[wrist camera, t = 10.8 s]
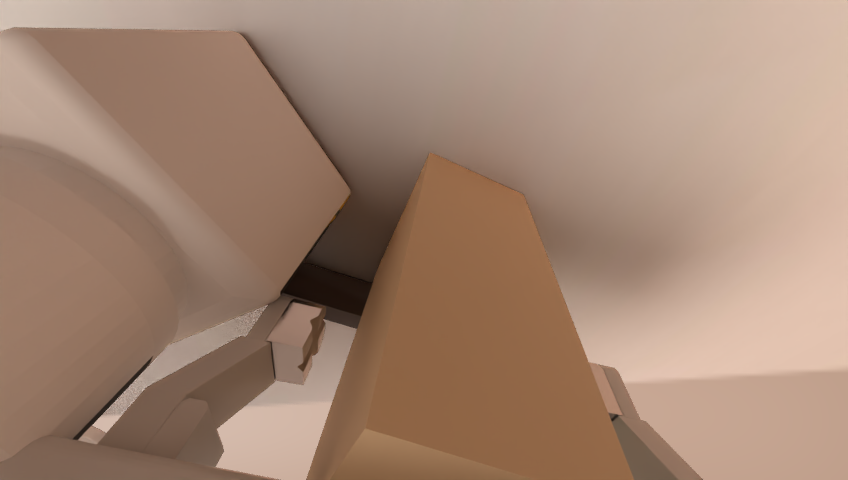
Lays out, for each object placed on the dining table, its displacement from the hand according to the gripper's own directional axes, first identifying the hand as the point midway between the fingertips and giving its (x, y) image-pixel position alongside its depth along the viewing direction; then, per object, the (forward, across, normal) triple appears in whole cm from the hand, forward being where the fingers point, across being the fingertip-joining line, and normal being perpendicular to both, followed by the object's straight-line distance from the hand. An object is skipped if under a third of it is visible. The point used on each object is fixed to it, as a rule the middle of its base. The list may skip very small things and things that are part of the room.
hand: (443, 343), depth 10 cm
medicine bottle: (+6, +10, -2) cm, 12 cm away
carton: (+6, 0, 0) cm, 6 cm away
